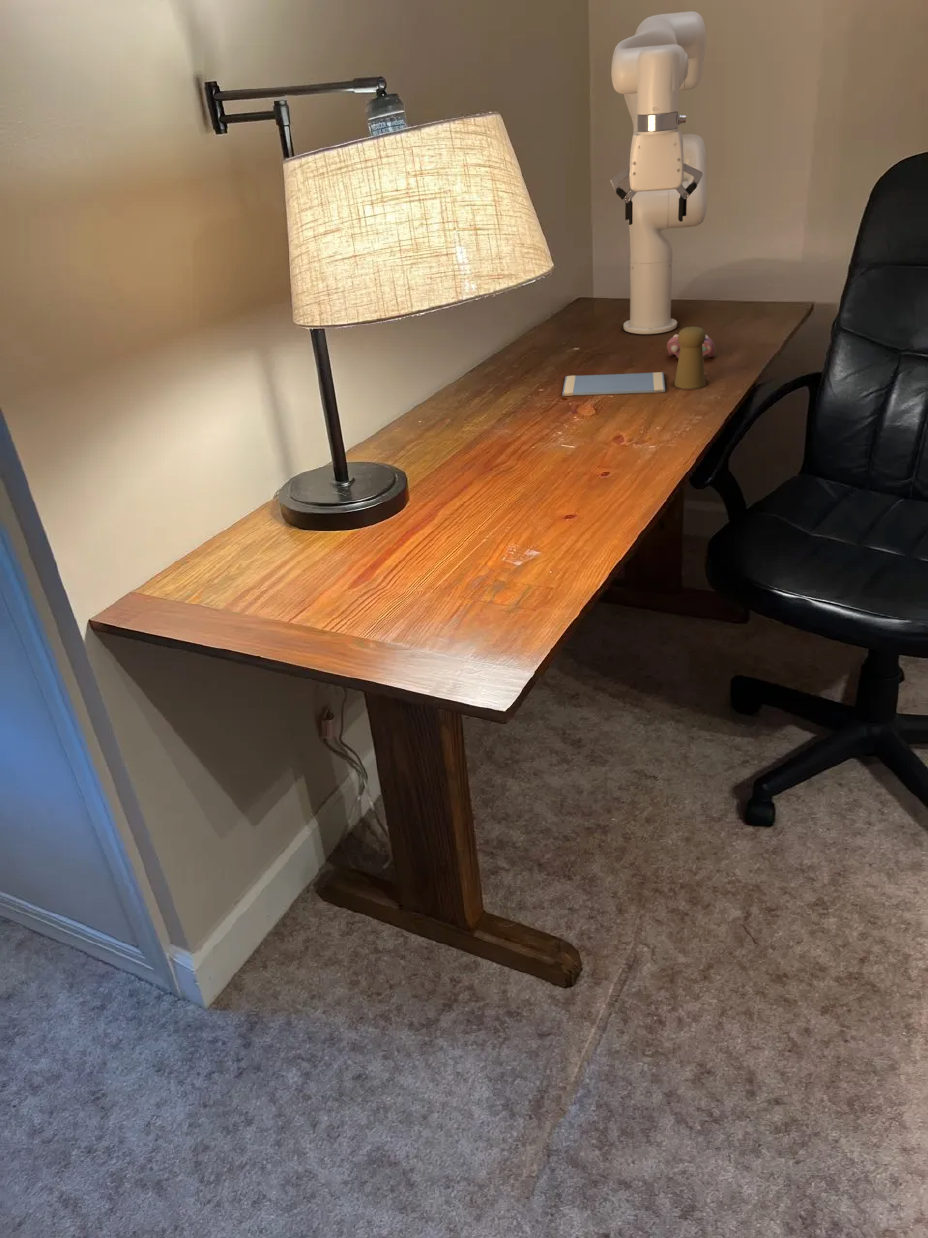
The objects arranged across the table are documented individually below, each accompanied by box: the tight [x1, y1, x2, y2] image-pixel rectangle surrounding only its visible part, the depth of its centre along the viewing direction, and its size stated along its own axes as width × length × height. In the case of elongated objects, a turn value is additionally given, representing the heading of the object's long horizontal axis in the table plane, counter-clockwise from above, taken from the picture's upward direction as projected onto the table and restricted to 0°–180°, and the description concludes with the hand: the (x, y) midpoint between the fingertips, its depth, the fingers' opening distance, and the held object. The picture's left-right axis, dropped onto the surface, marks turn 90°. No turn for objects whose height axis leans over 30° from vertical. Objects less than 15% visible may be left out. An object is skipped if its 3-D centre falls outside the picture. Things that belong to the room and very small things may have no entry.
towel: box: [561, 371, 666, 397], centre depth 188 cm, size 11×20×1 cm, turn 81°
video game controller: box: [666, 333, 716, 359], centre depth 197 cm, size 10×5×7 cm, turn 68°
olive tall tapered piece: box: [673, 326, 707, 390], centre depth 182 cm, size 6×6×11 cm
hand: (655, 221), depth 183 cm, fingers open, 9 cm apart
